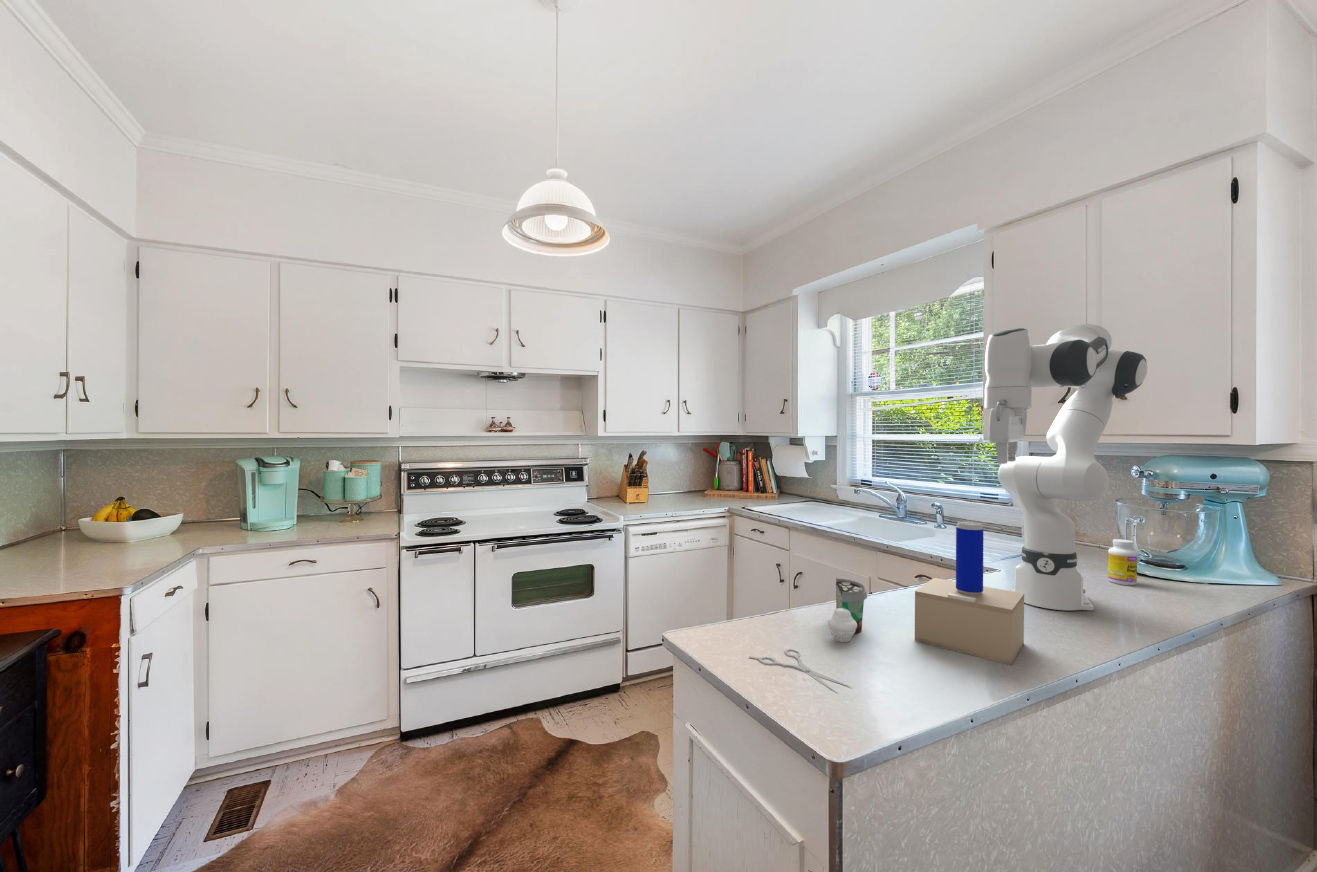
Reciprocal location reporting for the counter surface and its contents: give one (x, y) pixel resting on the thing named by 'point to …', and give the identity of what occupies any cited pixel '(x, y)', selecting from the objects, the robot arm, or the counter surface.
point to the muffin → (842, 625)
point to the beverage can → (969, 557)
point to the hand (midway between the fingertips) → (1007, 462)
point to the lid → (971, 596)
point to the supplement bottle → (1122, 563)
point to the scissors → (799, 667)
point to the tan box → (970, 629)
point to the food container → (851, 599)
